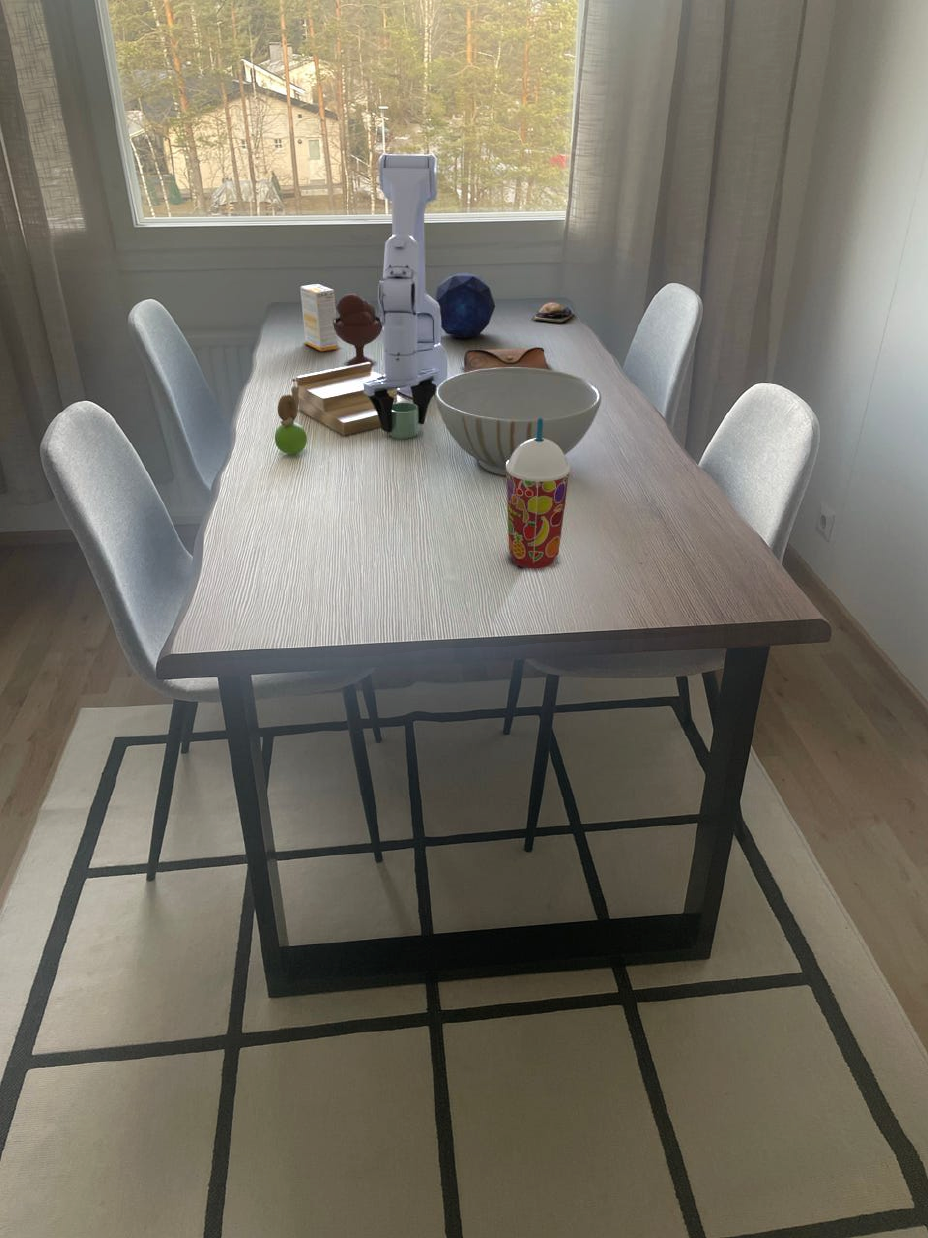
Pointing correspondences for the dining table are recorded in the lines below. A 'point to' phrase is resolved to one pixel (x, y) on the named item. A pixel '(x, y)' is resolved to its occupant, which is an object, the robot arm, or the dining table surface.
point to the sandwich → (553, 313)
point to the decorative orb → (464, 305)
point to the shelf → (341, 398)
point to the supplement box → (319, 317)
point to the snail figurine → (290, 424)
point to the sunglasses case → (505, 359)
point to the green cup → (404, 420)
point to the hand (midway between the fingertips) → (403, 426)
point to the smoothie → (536, 500)
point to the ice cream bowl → (357, 325)
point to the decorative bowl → (515, 410)
